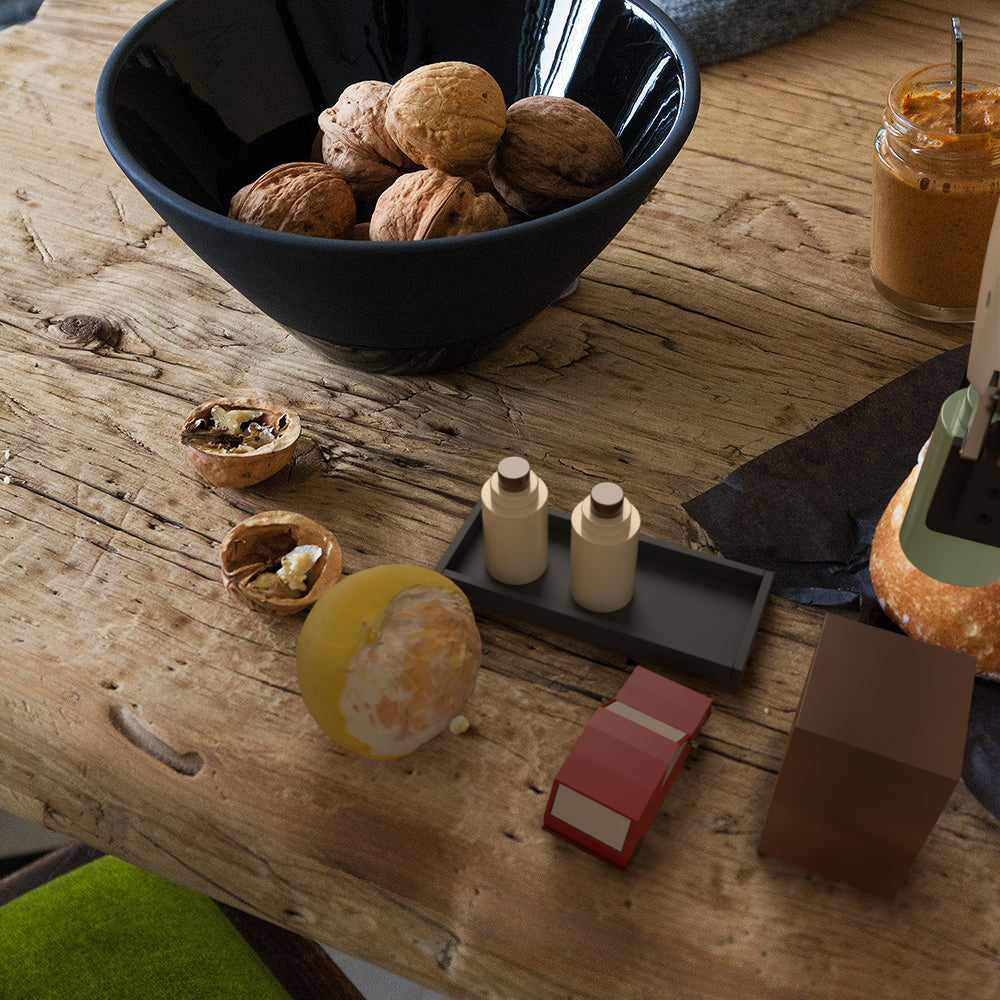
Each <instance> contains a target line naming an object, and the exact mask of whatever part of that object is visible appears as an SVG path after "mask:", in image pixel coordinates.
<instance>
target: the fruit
mask: <svg viewBox="0 0 1000 1000" xmlns="http://www.w3.org/2000/svg"><path fill="white" fill-rule="evenodd" d="M482 643H483V642H482V639H481V635H480V632H479V629H478V627H477V624H476V619H475V615H474V612H473V609H472V605H471V604H470V603H469V601H468V599H467V597H466V596H465V594H464V593H463V592H462V590H461V589H460V588H459V587H458V586H457V585H455V584H454V583H453V582H452V581H451V580H449V579H448V578H446V577H445V576H443V575H441V574H439V573H437V572H435V571H434V570H431V569H428V568H425V567H421V566H417V565H413V564H406V563H390V564H382V565H377V566H374V567H369V568H365V569H363V570H359V571H357V572H353V573H351V574H349V575H347V576H345V577H344V578H343V579H341V580H340V581H338V582H337V583H336V584H335V585H332V587H329V588H328V589H327V590H326V591H325V592H324V593H323V594H322V595H321V596H320V597H319V598H318V600H317V601H316V602H315V604H314V605H313V606H312V608H311V610H310V612H309V613H308V615H307V617H306V618H305V621H304V623H303V625H302V627H301V629H300V634H299V637H298V640H297V645H296V654H295V655H296V658H295V664H296V665H295V666H296V675H297V676H296V678H297V682H298V687H299V691H300V694H301V697H302V700H303V702H304V704H305V707H306V709H307V710H308V713H309V714H310V716H311V718H312V719H313V721H314V722H315V723H316V725H317V726H318V727H319V729H320V730H321V731H322V732H323V733H324V734H325V736H327V737H328V738H329V739H330V740H331V741H333V742H334V743H336V744H337V745H339V746H340V747H342V748H343V749H344V750H347V751H350V752H352V753H355V754H357V755H360V756H362V757H365V758H368V759H371V760H376V761H393V760H397V759H400V758H403V757H406V756H409V755H410V754H411V753H413V752H415V751H416V750H418V749H419V748H420V747H421V745H423V744H427V743H428V741H430V740H431V739H433V738H434V737H436V736H437V735H439V734H441V733H442V732H443V731H445V729H447V728H448V727H449V726H450V725H451V723H452V722H453V721H454V719H455V717H456V716H457V714H458V713H459V712H461V711H463V709H464V708H465V706H466V705H467V703H468V702H469V699H470V697H471V696H472V695H473V693H474V692H475V690H476V686H477V680H478V677H479V672H480V669H481V665H482V661H483V644H482Z"/></svg>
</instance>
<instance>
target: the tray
mask: <svg viewBox="0 0 1000 1000" xmlns="http://www.w3.org/2000/svg"><path fill="white" fill-rule="evenodd" d="M571 515H572V513H569V512H564V511H562V510H557V509H556V508H555V509H554V508H551V507H548V565H547V568H546V570H545V572H544V573H543V574H542V575H541V576H540V577H539V578H538V579H536V580H535V581H533V582H530V583H527V584H522V585H510V584H505V583H502V582H500V581H498V580H496V579H495V578H493V577H492V576H491V575H490V574H489V572H488V571H487V568H486V565H485V553H484V537H483V521H482V505H481V496H480V497H479V498H478V499H477V501H476V503H475V505H474V506H473V508H472V509H471V510H470V513H469V514H468V515H467V517H466V519H465V520H464V522H463V524H462V525H461V527H460V528H459V530H458V532H457V533H456V534H455V536H454V538H453V540H452V541H451V542H450V544H449V546H448V548H447V549H446V551H445V552H444V554H443V556H442V557H441V558H440V560H439V561H438V563H437V565H436V566H435V568H434V570H433V571H435V572H437V573H439V574H441V575H443V576H445V577H446V578H448V579H449V580H451V581H452V582H453V583H454V584H455V585H457V586H458V587H459V588H460V589H461V590H462V592H463V593H464V594H465V596H466V597H467V599H468V601H469V603H470V606H474V607H478V608H480V609H483V610H487V611H489V612H493V613H496V614H499V615H502V616H505V617H508V618H511V619H513V620H514V619H515V620H517V621H521V622H522V623H523V622H524V623H526V624H530V625H532V626H535V627H538V628H541V629H546V630H548V631H551V632H554V633H557V634H560V635H563V636H566V637H569V638H572V639H575V640H579V641H581V642H584V643H588V644H591V645H593V646H597V647H599V648H600V647H601V648H604V649H606V650H609V651H612V652H615V653H619V654H622V655H624V656H628V657H631V658H634V659H636V660H639V661H642V662H646V663H648V664H651V665H655V666H658V667H661V668H664V669H667V670H670V671H673V672H676V673H678V674H679V673H680V674H682V675H685V676H689V677H692V678H694V679H698V680H701V681H704V682H707V683H710V684H713V685H716V686H720V687H723V688H724V689H728V690H732V691H734V692H739V690H740V687H741V684H742V682H743V678H744V674H745V673H746V672H745V671H746V669H747V665H748V662H749V661H750V660H749V659H750V657H751V653H752V650H753V647H754V644H755V642H756V638H757V635H758V632H759V629H760V626H761V622H762V619H763V617H764V614H765V610H766V607H767V605H768V601H769V598H770V596H771V591H772V588H773V583H774V579H775V575H776V573H775V572H773V571H770V570H765V569H763V568H760V567H755V566H752V565H749V564H745V563H742V562H739V561H735V560H731V559H728V558H724V557H721V556H718V555H714V554H711V553H707V552H705V551H704V552H703V551H701V550H697V549H693V548H690V547H687V546H683V545H679V544H676V543H673V542H669V541H665V540H662V539H658V538H655V537H651V536H648V535H645V534H642V533H640V536H639V546H638V557H637V567H636V578H635V588H634V594H633V597H632V599H631V600H630V601H629V603H628V604H627V605H625V606H624V607H622V608H621V609H619V610H616V611H612V612H605V613H601V612H594V611H590V610H587V609H585V608H583V607H582V606H580V605H579V604H578V603H577V602H576V601H575V600H574V599H573V597H572V595H571V593H570V589H569V578H570V540H571Z"/></svg>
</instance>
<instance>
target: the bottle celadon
mask: <svg viewBox="0 0 1000 1000" xmlns="http://www.w3.org/2000/svg"><path fill="white" fill-rule="evenodd" d="M978 394H979V393H978V392H977V391H976V390H975V389H974V388H973V387H972V385H971V384H970V385H969V387H968V388H964V389H962V390H959V391H957V390H956V391H955V392H954V393H952V394H950V395H949V396H948V397H947V398H945V400H944V402H943V403H942V405H941V407H940V410H939V413H938V416H937V420H936V423H935V426H934V428H933V430H932V431H933V432H932V434H931V437H930V440H929V443H928V446H927V449H926V452H925V455H924V458H923V461H922V463H921V465H920V466H921V467H920V470H919V473H918V476H917V479H916V481H915V485H914V487H913V491H912V494H911V495H910V499H909V502H908V505H907V508H906V511H905V514H904V517H903V520H902V522H901V525H900V528H899V533H898V541H899V545H900V549H901V551H902V553H903V554H904V556H905V557H906V559H907V560H908V561H909V563H910V564H912V566H913V567H915V568H916V569H917V570H919V572H921V573H923V574H924V575H926V576H927V577H929V578H931V579H932V580H935V581H938V582H940V583H943V584H947V585H950V586H954V587H960V588H961V587H962V588H978V587H986V586H988V585H992V584H994V583H997V582H998V581H1000V548H997V547H993V546H989V545H985V544H981V543H977V542H973V541H969V540H965V539H961V538H957V537H953V536H949V535H945V534H942V533H938V532H934V531H931V530H929V529H928V528H927V527H926V525H925V520H926V515H927V511H928V508H929V505H930V502H931V500H932V497H933V494H934V491H935V488H936V486H937V483H938V480H939V477H940V475H941V472H942V469H943V466H944V463H945V461H946V458H947V455H948V452H949V450H950V447H951V444H952V441H953V438H954V436H957V437H962V438H964V435H965V432H966V429H967V426H968V423H969V420H970V417H971V414H972V411H973V409H974V406H975V403H976V400H977V397H978ZM997 420H1000V398H999V401H998V404H997V407H996V410H995V413H994V415H993V418H992V421H991V424H992V423H994V422H995V421H997ZM991 424H990V425H991Z"/></svg>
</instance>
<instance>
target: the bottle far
mask: <svg viewBox="0 0 1000 1000" xmlns="http://www.w3.org/2000/svg"><path fill="white" fill-rule="evenodd" d="M496 469H497V470H496V471H495V472H494V473H493V474H492V475H491V477H489V479H487V480H486V481H485V483H483V486H482V488H481V489H480V497H481V505H482V521H483V537H484V553H485V565H486V568H487V571H488V572H489V574H490V575H491V576H492V577H493V578H495V579H496V580H498V581H500V582H502V583H505V584H510V585H522V584H527V583H530V582H533V581H535V580H536V579H538V578H539V577H540V576H541V575H542V574H543V573H544V572H545V570H546V568H547V565H548V508H549V490H548V487H547V484H546V483H545V482H544V480H543V479H542V478H541V477H540V476H539V475H538V476H537V474H536V473H535V472H534V471H533V470H532V469H531V465H530V463H529V461H528V460H527V459H525V458H524V457H521V456H507V457H505V458H503V459H501V460H500V461H499V463H498V464H497V466H496Z"/></svg>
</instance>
